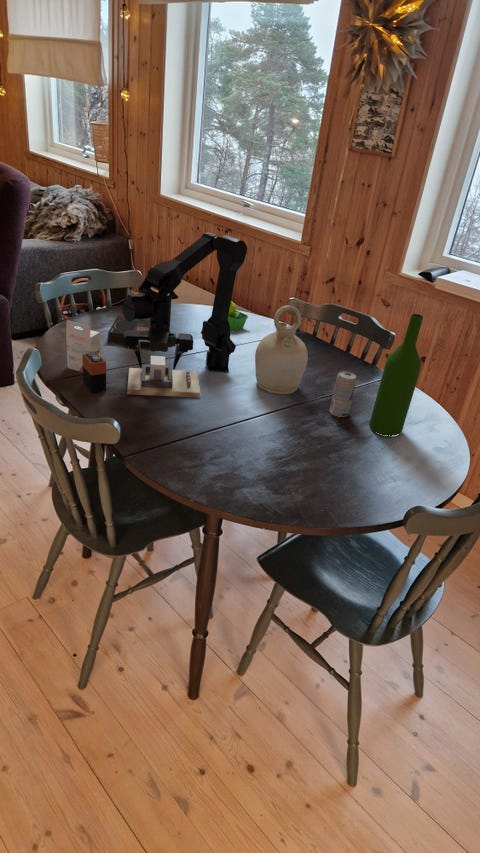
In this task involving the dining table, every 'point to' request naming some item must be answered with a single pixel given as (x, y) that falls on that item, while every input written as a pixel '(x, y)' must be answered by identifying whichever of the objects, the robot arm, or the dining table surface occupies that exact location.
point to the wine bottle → (398, 383)
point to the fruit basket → (236, 318)
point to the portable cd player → (122, 325)
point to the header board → (163, 383)
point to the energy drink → (343, 394)
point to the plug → (157, 368)
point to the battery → (94, 372)
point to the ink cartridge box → (80, 343)
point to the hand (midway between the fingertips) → (157, 368)
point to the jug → (281, 357)
